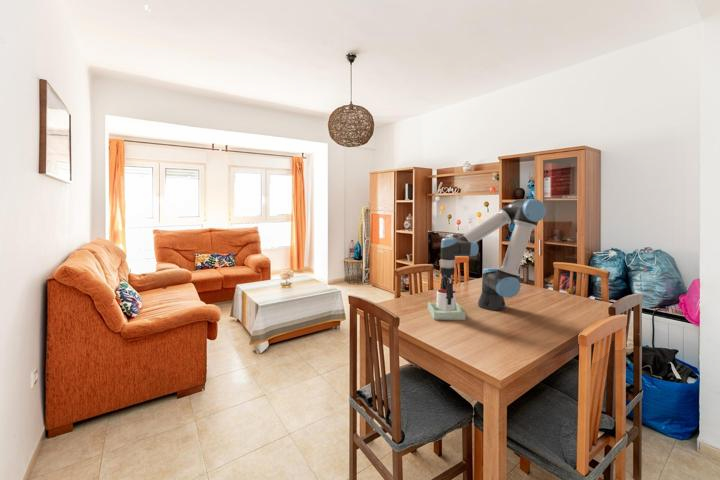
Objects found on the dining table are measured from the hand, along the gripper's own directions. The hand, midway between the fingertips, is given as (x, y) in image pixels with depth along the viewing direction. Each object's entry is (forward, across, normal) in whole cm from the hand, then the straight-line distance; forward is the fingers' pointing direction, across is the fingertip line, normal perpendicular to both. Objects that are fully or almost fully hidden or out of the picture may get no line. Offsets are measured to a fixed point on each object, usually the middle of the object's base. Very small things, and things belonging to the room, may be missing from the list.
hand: (445, 306), depth 178 cm
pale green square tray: (+4, 0, 0) cm, 4 cm away
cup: (+2, 0, 0) cm, 2 cm away
